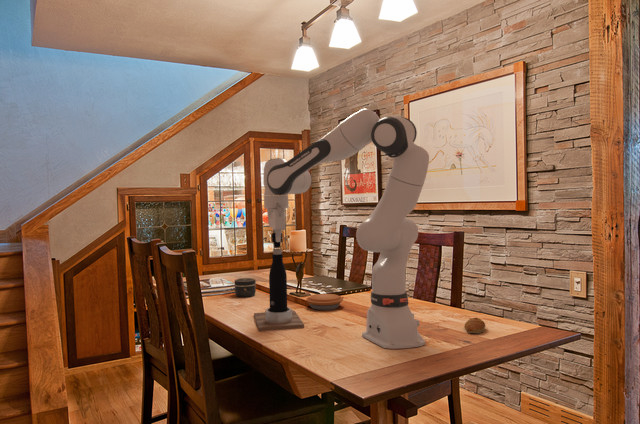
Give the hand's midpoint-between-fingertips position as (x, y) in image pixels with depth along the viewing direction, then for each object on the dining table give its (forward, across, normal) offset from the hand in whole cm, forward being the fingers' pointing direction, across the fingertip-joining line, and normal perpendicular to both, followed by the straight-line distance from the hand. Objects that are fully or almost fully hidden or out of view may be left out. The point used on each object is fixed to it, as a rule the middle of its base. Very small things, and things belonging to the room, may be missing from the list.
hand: (277, 241), depth 176 cm
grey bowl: (+29, 0, 0) cm, 29 cm away
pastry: (+31, -27, -63) cm, 76 cm away
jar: (+30, +55, +9) cm, 64 cm away
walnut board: (+30, +3, 0) cm, 30 cm away
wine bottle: (+27, 0, 0) cm, 27 cm away
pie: (+31, +21, -22) cm, 43 cm away
